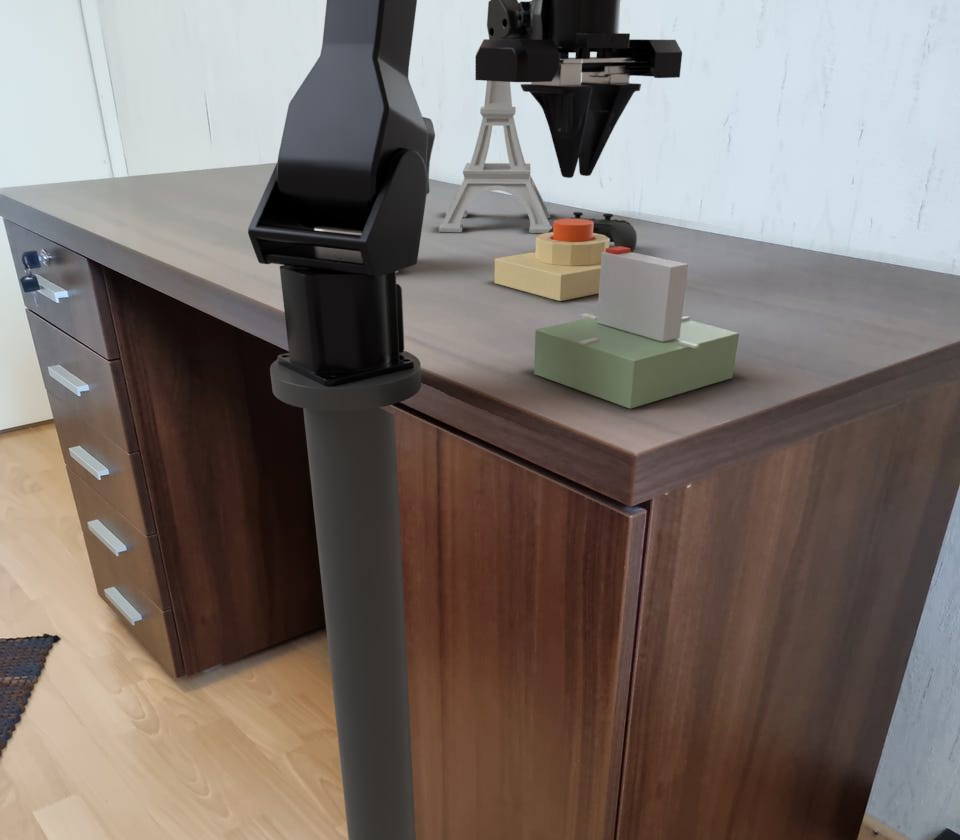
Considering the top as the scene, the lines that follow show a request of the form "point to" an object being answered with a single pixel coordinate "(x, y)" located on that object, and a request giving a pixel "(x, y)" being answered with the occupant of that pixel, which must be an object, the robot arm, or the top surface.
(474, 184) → the eiffel tower
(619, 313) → the white square block
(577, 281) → the switch
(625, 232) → the gaming controller
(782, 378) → the top surface
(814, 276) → the top surface
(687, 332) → the panel
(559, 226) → the button
